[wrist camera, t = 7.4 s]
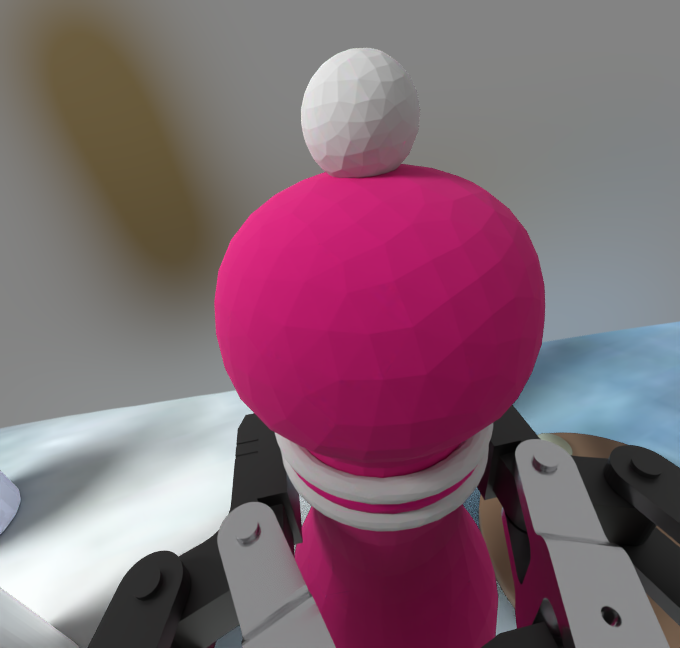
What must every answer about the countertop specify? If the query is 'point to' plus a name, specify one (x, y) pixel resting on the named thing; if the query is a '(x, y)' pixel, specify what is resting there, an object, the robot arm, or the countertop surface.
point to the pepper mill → (383, 359)
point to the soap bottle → (8, 501)
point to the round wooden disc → (495, 536)
